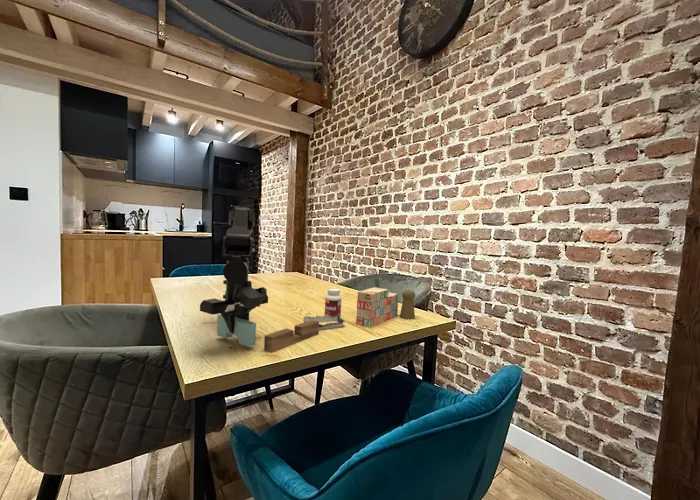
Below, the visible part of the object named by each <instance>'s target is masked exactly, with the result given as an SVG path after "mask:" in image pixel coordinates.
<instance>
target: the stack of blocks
mask: <svg viewBox="0 0 700 500" xmlns="http://www.w3.org/2000/svg"><path fill="white" fill-rule="evenodd" d="M398 308H399V293H394V292H389V289H387V288H382V287H370V288H367V289H364V290H363V289H362V290H358V291H357V300H356V322H355V324H356V325H358V326H362V327H366V328H373V327H375V326H378V325H380V324H381V325H382V324H383V323H384V322H386V321H389V320H391V319H394V318H396V317H397V316H398V311H399V309H398Z"/></svg>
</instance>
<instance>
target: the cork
mask: <svg viewBox="0 0 700 500" xmlns="http://www.w3.org/2000/svg"><path fill="white" fill-rule="evenodd" d="M401 297H402V298H403V299H402V303H401V307H400V314H399V318H400V319H403V320H408V319H409V320H408V321H411V320H410V319H413V320H415V319H416V316H415V300H414V299H416V293H415V291H413V290H411V289H405V290H403V291H402V293H401Z"/></svg>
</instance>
